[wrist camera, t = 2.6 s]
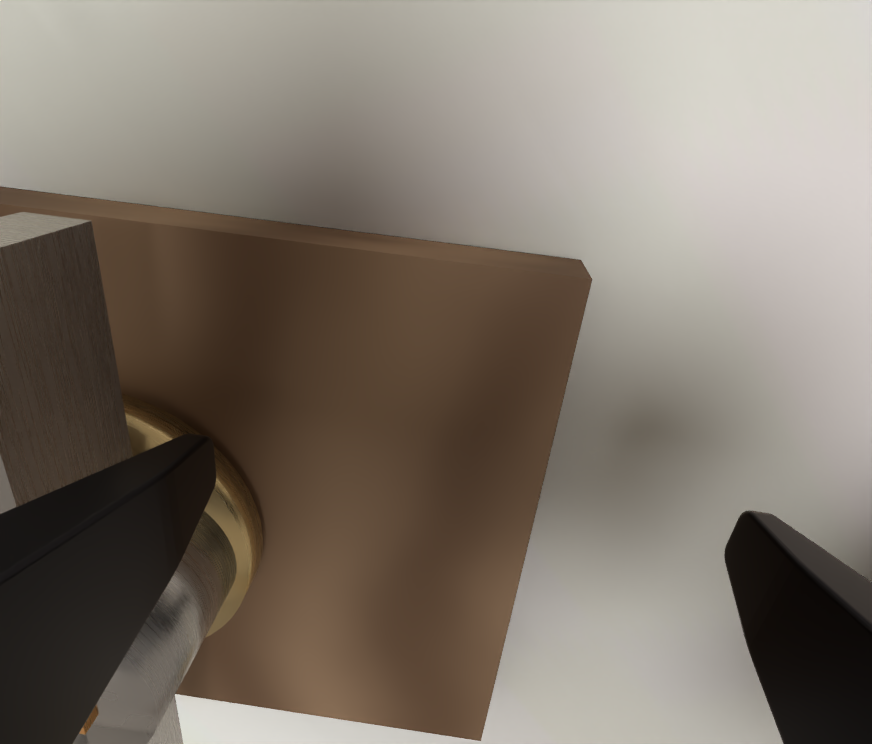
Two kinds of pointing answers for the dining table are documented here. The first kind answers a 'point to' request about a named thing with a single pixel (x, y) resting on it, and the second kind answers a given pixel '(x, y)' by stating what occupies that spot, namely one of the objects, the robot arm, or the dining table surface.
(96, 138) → the dining table surface
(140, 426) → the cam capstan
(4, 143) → the dining table surface
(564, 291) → the stand
